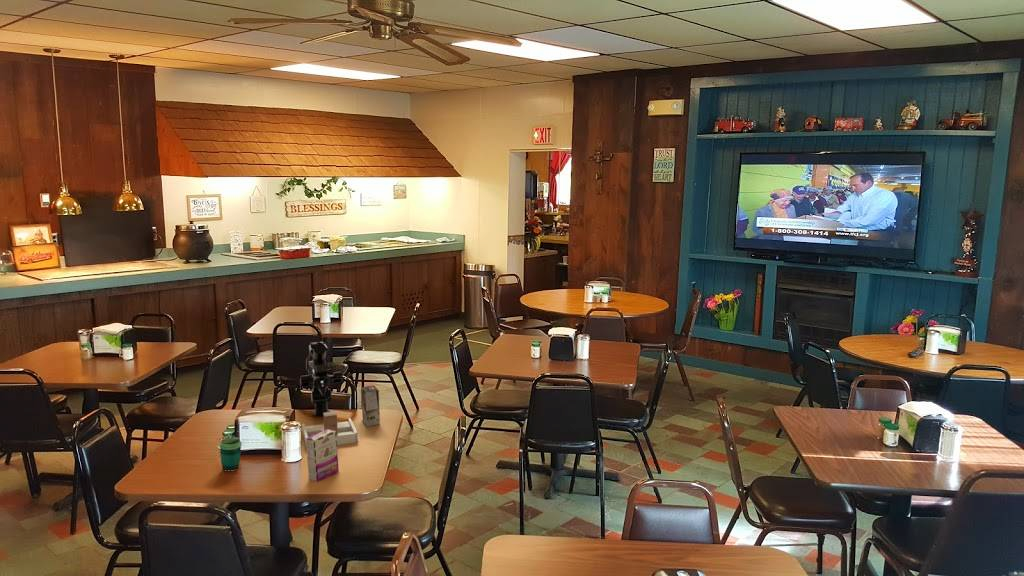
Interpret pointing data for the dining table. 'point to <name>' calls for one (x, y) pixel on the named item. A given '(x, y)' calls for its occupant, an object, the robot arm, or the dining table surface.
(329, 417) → the block
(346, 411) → the dining table surface
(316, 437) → the candy bar box
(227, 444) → the cup
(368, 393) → the coffee box
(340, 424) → the trap box
